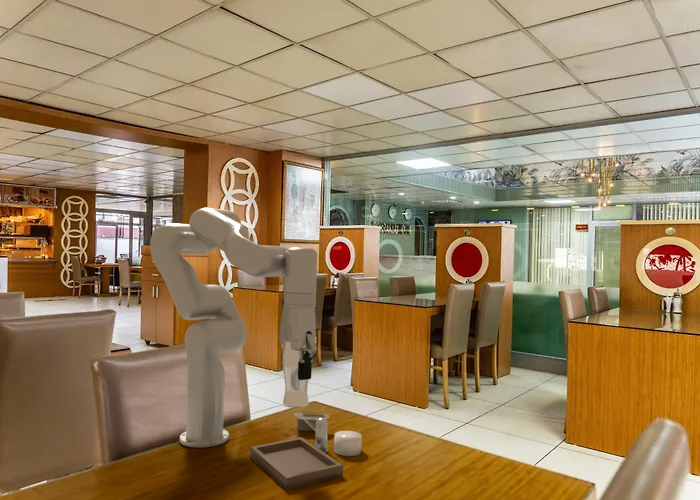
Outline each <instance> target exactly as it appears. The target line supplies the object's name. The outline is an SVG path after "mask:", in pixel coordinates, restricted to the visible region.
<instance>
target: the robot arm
mask: <svg viewBox="0 0 700 500" xmlns="http://www.w3.org/2000/svg"><path fill="white" fill-rule="evenodd" d="M188 223H189V224H188ZM188 223H175V222H174V223H165V224H161V225H159V226H158V227H157V228H155V229H154V230H153V232H152V235H151V237H150V243H149V244H150V245H149V246H150V248H149V249H150V255H151V258H152V259H151V260H152V261H153V263H154V266H155V267H156V269H157V271H158V272H159V273H160V275H161V277H162V278H163V281H164V283H165V285H166V288H167V290H168V292H169V294H170V295H169V296H170V297H171V300H172V302H173V304H174V306H175V309H176V310H177V313H178V315H179V316H180V317H181V318H182V319H183V320H185V321H196V322H194V323H192V324H191V325H190V326H189V327H188V328H187V329H186V332H185V334H184V346H185V347H184V348H185V353H186V361H187V378H186V379H187V387H186V388H187V390H186V395H187V396H186V416H185V417H186V418H185V419H186V420H185V422H186V423H185V424H186V425H185V431H184V432H182V433H181V434H180V435H179V443H180V444H181V445H183V446H185V447H189V448H196V449H197V448H202V449H203V448H211V447H215V446H219V445H222V444H224V443H226V442H227V441H228V440H229V438H230V437H229V436H230V433H229V431H228V430H226V429H224V418H225V417H224V415H225V414H224V411H225V384H226V383H225V377H226V376H225V374H226V373H225V368H224V364H223V362H222V360H221V359H220V355H221V354H226V353H231V352H234V351H238V350H240V349H241V348H243V347H244V346H245V343H246V341H247V328H246V325H245V323H244V320H243V318H242V316H241V314H240V312H239V310H238V308H237V305H236V303H235V301H234V299H233V297H232V295H231V293H230V291H228V290H227V288H226V287H223V286H222V285H219V284H204V283H203V282H201V280H200V278H199V276H198V274H197V271H196V270H195V268H194V267H193V265H192V264H191V263H190V262H189V261H188V260H186V258H184V257H183V256H182V255H206V254H209V253H211V252H213V251H215V250H217V249H219V250H220V251H222V252H224V254H225V258H226V259H227V261H228V262H229V263H230V264H231V265H232V266H233V267H235V268H237V269H239V270H240V271H242V272H244V273H245V274H247V275H250V276H253V277H256V278H278V277H279V278H281V277H284V284H283V285H284V286H283V307H282V312H281V318H280V319H281V320H280V331H279V344H280V345H281V346H282V347H283V346H284V340H286V341H288V342H291V349H292V350H294V351H298V350H299V357H300V362H298V380H307V379H309V380H311V379H312V372H313V371H312V370H313V369H312V368H313V367H312V364H313V361H314V357H315V354H316V352H317V351H318V347H317V344H316V335H317V330H316V328H317V325H316V311H315V310H316V307H317V305H316V302H317V280H318V279H317V278H318V277H317V276H318V273H317V272H318V252H317V251H316V249H314V248H310V247H289V246H283V245H282V246H281V245H267V244H266V245H262V244H259V243H255V242H254V241H252V240H250V232H249V229H248V228H247V226H246V225H245V224H243V223H242V221H241V219H240V217H239V215H238V214H236V212H233V211H231V210H230V209H229V210H228V209H220V208H213V207H203V208H199V209H197V210H195V211H193V213H192V214H191V216H190V217H189V222H188ZM304 345H307V346H308V348H303V346H304ZM302 348H303V349H302ZM303 352H306V354H305V355H304V354H303Z"/></svg>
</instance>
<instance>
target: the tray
mask: <svg viewBox="0 0 700 500" xmlns="http://www.w3.org/2000/svg"><path fill="white" fill-rule="evenodd" d="M249 458H250V459H251V460H252V461H253V462H255V463H256V464H257V465H258V466H259V467H260V468H261V469H263V471H265V472H266V473H267V474H268V475H269V476H270V477H271V478H272V479H274V480H275V481H276V482H277V483H278V484H279V485H280V486H281V487H282V488H283V489H284V490H285V491H288V490H292V489H297V488H301V487H304V486H308V485H312V484H316V483H320V482H324V481H329V480H333V479H336V478H340V477H343V472H344V470H343V469H344V465H343V464H342V463H341V462H339V461H338V460H336V459H335V458H333V457H331V456H330V455H329V454H327V452H326V453H324V452H323V451H321V450H320V449H318V448H317V447H315V444H314V445H313V444H312V443H311V442H309V441H308V440H306V438H303V437H296V438H291V439H286V440H285V439H284V440H281V441H276V442H271V443H264V444H260V445H254V446H251V447H250V455H249Z"/></svg>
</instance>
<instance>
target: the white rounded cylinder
mask: <svg viewBox="0 0 700 500" xmlns="http://www.w3.org/2000/svg"><path fill="white" fill-rule="evenodd" d="M333 438H334V440H333V452H334V453H335V454H336V455H338V456H339V455H340V456H344V457H355V456H358V455H360V454H361V453H362V443H363V440H362V439H363V435H362V434H361V433H359V432H357V431H353V430H339V431H337V432H335V433H334V437H333Z"/></svg>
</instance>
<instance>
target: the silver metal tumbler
mask: <svg viewBox="0 0 700 500" xmlns="http://www.w3.org/2000/svg"><path fill="white" fill-rule="evenodd" d="M303 348H308V346H307V345H304V346H303ZM303 348H302V349H303ZM303 354H304V355H305V354H306V352H303ZM298 362H300V357H299V350H298V351H294V350H292V349H291V342H288V341H286V340H284V346H282V373H283V380H284V386H285V387H284V394H283V400H282V405H283V406H284V407H288V408H303V407H307V406H309V404H310V401H309V395H308V387H309V380H310V379H307V380H298Z"/></svg>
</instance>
